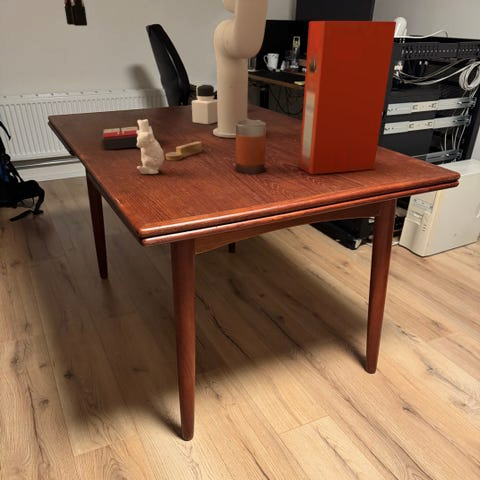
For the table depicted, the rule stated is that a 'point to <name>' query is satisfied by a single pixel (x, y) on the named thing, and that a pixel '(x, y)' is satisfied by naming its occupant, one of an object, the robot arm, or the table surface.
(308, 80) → the file binder
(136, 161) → the table surface
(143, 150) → the white squirrel figurine
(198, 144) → the wooden spoon
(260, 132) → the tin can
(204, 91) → the medicine bottle
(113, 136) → the calculator
